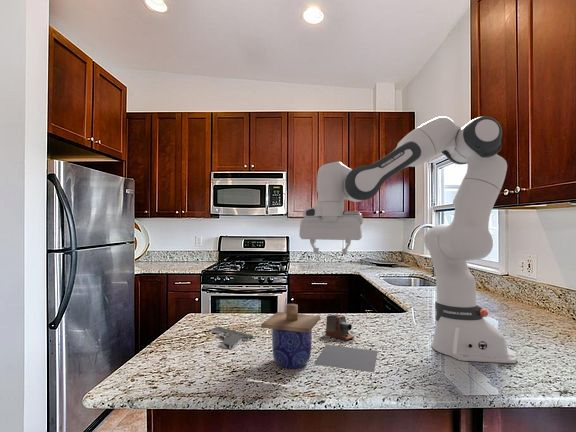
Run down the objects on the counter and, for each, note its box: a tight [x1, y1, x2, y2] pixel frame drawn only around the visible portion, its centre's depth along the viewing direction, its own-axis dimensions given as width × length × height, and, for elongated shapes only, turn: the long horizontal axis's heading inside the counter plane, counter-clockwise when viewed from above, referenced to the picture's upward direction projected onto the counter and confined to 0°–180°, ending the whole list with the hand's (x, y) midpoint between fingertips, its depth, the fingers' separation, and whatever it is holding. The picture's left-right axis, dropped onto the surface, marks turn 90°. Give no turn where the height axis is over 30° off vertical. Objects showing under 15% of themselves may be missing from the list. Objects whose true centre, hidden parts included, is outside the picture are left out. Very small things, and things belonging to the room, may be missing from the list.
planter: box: [271, 329, 313, 370], centre depth 92 cm, size 11×11×11 cm
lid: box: [260, 303, 321, 333], centre depth 93 cm, size 13×13×5 cm
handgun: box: [211, 326, 254, 350], centre depth 113 cm, size 2×19×12 cm
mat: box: [313, 344, 379, 373], centre depth 96 cm, size 16×16×1 cm
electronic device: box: [325, 314, 355, 342], centre depth 115 cm, size 4×10×8 cm, turn 42°
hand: (330, 253), depth 109 cm, fingers open, 8 cm apart
